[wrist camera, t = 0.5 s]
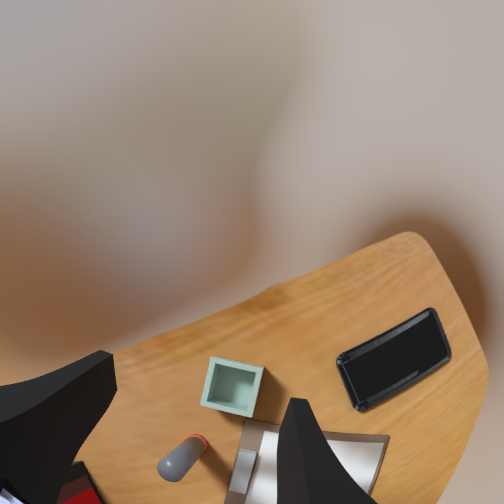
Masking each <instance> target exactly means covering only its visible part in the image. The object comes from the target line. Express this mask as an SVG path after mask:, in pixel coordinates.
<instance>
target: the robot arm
mask: <svg viewBox="0 0 504 504" xmlns="http://www.w3.org/2000/svg"><path fill="white" fill-rule="evenodd" d="M116 391H117V385H116V377H115V369H114V360H113V354H111V353H108V352H105V351H102V350H99V351H97V352H95V353H92V354H90V355H88V356H86V357H84V358H82V359H80V360H78V361H76V362H73V363H72V364H69V365H67V366H65V367H63V368H60V369H58V370H55V371H53V372H50V373H48V374H45V375H43V376H40V377H37V378H34V379H31V380H27V381H24V382H20V383H15V384H10V385H4V386H0V504H23V503H25V504H56V503H57V500H58V496H59V494H60V491H61V488H62V486H63V483H64V480H65V478H66V476H67V474H68V471H69V469H70V467H71V465H72V463H73V461H74V459H75V457H76V455H77V453H78V451H79V449H80V447H81V446H82V444H83V443H84V441H85V440H86V438H87V437H88V436H89V434H90V433H91V431H92V430H93V429H94V427H95V426H96V424H97V423H98V422H99V420H100V419H101V417H102V416H103V415H104V413H105V412H106V410H107V409H108V407H109V405H110V403H111V402H112V400H113V398H114V396H115V393H116ZM22 502H23V503H22ZM277 504H378V503H376V502H375V501H374V500H373V499H372V498H371V497H370V496H369V495H368V494H367V493H366V492H365V491H364V490H363V489H362V488H361V487H360V486H359V485H358V484H357V483H356V482H355V480H354V479H353V478H352V477H351V476H350V474H349V473H348V472H347V471H346V469H345V468H344V467H343V465H342V464H341V462H340V461H339V460H338V458H337V456H336V455H335V453H334V452H333V450H332V449H331V447H330V445H329V444H328V442H327V440H326V438H325V436H324V434H323V433H322V431H321V429H320V427H319V425H318V423H317V420H316V418H315V416H314V414H313V412H312V409H311V407H310V404H309V402H308V401H307V399H300V398H292V397H291V398H290V401H289V404H288V407H287V410H286V413H285V416H284V418H283V421H282V424H281V427H280V429H279V435H278V444H277Z"/></svg>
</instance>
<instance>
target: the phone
mask: <svg viewBox="0 0 504 504" xmlns="http://www.w3.org/2000/svg"><path fill="white" fill-rule="evenodd" d="M450 356H451V348H450V345H449V343H448V340H447V337H446V334H445V332H444V329H443V327H442V324H441V322H440V319H439V317H438V314H437V312H436V310H435V309H434V308H427V309H424V310H423V311H421V312H419V313H418V314H416V315H414V316H412V317H411V318H409V319H407V320H405V321H404V322H402V323H400V324H398V325H396V326H395V327H393V328H391V329H389V330H387V331H385V332H384V333H382V334H380V335H378V336H376V337H374V338H372V339H370V340H368V341H366V342H364V343H362V344H360V345H358V346H356V347H354V348H352V349H350V350H348V351H346V352H343V353H341V354H340V355H339V356H338V357H337V359H336V366H337V368H338V371H339V373H340V376H341V378H342V381H343V383H344V386H345V388H346V391H347V393H348V396H349V399H350V401H351V404H352V406H353V407H354V408H355V409H356V410H359V411H363V410H366V409H368V408H370V407H372V406H374V405H376V404H377V403H379V402H381V401H383V400H385V399H387V398H389V397H390V396H392V395H394V394H396V393H397V392H399V391H401V390H402V389H404V388H406V387H407V386H409V385H411V384H412V383H414V382H416V381H417V380H419V379H420V378H422V377H424V376H425V375H427V374H428V373H430V372H431V371H433V370H434V369H436V368H437V367H439V366H440V365H442V364H443V363H444V362H446V361H447V360H448V359H449V358H450Z"/></svg>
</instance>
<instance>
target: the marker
mask: <svg viewBox="0 0 504 504" xmlns="http://www.w3.org/2000/svg"><path fill="white" fill-rule="evenodd" d="M206 448H207V441H206V439H205V438H204V437H203V436H201V435H198V434H193V435H191V436H189V437H188V438H187V439H186V440H185V441H184V442H182V443H181V444H180V445H179V446H178V447H176V448H175V449H174V450H173V451H172V452H171V453H169V454H168V455H167V456H166V457H164V458H163V459H162V460H161V461H160V462H159V463H158V465H157V470H158V473H159V474H160V476H161V477H162V478H164V479H165V480H167V481H170V482H177V481H180V480H181V479H182V478H183V477H184V475H185V474H186V473H187V472H188V471H189V469H190V468H191V467H192V466H193V465H194V463H195V462H196V461H197V460H198V459H199V457H200V456H201V455H202V454H203V452H204V451H205V450H206Z"/></svg>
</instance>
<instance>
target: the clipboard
mask: <svg viewBox="0 0 504 504" xmlns="http://www.w3.org/2000/svg"><path fill="white" fill-rule="evenodd" d="M280 427H281V425H277V424H271V423H266V422H261V421H256V420H251V419H245V422H244V426H243V431H242V435H241V439H240V443H239V447H238V451H237V455H236V459H235V463H234V467H233V471H232V475H231V479H230V483H229V487H228V490H227V494H226V498H225V502H224V504H277V444H278V435H279V429H280ZM322 433H323V434H324V436H325V438H326V440H327V442H328V444H329V445H330V447H331V449H332V450H333V452H334V453H335V455H336V456H337V458H338V460H339V461H340V462H341V464H342V465H343V467H344V468H345V469H346V471H347V472H348V473H349V474H350V476H351V477H352V478H353V479H354V480H355V482H356V483H357V484H358V485H359V486H360V487H361V488H362V489H363V490H364V491H365V492H366V493H367V494H368V495H369V496H370V493H371V491H372V488H373V485H374V483H375V480H376V477H377V474H378V471H379V468H380V465H381V462H382V459H383V456H384V453H385V449H386V446H387V443H388V439H389V435H369V434H351V433H338V432H327V431H322Z"/></svg>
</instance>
